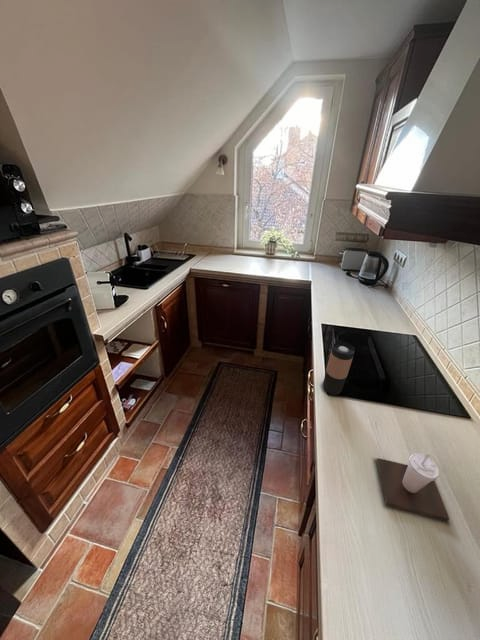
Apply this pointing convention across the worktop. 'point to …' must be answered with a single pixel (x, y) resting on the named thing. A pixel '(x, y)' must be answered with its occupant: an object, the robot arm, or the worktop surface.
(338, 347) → the travel mug
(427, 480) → the smoothie
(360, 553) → the worktop surface
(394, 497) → the walnut board
